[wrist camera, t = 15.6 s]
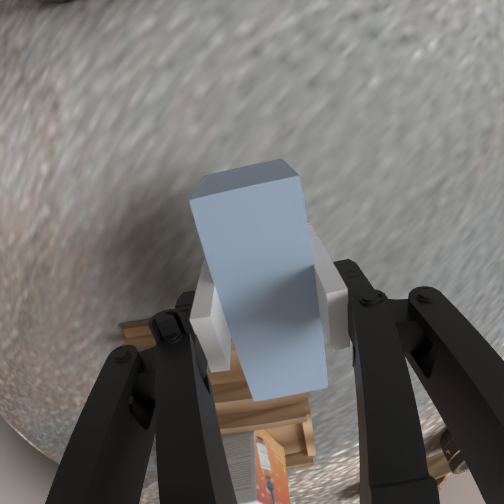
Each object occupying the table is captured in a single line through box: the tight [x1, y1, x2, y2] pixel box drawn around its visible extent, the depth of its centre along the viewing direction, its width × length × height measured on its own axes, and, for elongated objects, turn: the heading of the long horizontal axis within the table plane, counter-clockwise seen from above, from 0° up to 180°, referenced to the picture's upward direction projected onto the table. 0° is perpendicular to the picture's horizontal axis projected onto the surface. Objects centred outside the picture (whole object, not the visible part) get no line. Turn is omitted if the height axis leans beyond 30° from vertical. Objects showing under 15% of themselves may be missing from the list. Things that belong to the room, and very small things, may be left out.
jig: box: [122, 319, 316, 470], centre depth 29 cm, size 25×15×4 cm, turn 12°
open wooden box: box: [426, 452, 452, 487], centre depth 41 cm, size 8×17×5 cm, turn 102°
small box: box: [221, 429, 290, 504], centre depth 27 cm, size 8×6×10 cm
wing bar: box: [189, 159, 328, 402], centre depth 15 cm, size 4×11×5 cm, turn 12°
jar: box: [441, 429, 469, 474], centre depth 34 cm, size 10×10×8 cm
